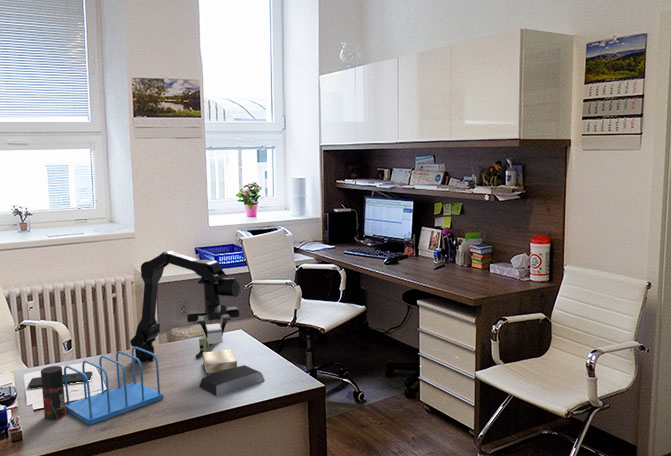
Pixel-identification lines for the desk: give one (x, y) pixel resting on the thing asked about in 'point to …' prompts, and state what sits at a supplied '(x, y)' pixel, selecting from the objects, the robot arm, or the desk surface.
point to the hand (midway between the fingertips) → (214, 336)
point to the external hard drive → (231, 380)
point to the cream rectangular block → (219, 360)
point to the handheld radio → (204, 345)
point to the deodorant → (53, 393)
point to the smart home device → (70, 379)
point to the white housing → (214, 333)
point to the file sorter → (112, 394)
